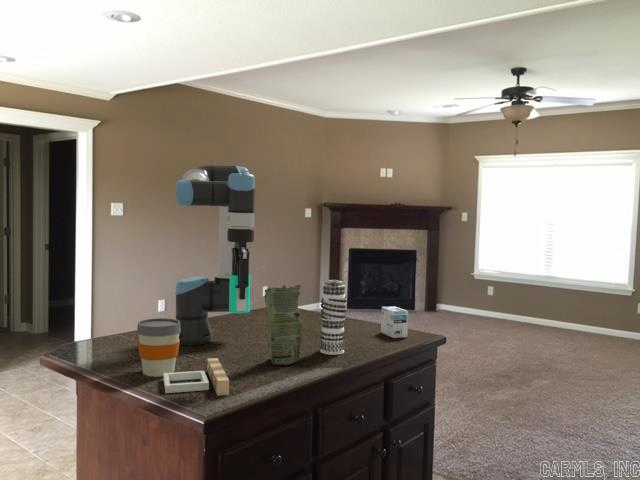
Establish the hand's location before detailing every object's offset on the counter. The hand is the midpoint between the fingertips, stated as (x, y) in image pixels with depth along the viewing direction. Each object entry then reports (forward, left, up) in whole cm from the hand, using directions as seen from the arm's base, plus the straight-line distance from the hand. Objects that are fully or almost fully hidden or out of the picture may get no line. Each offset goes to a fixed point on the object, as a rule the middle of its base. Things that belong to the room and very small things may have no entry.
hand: (239, 308), depth 160 cm
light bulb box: (-42, +70, -21) cm, 85 cm away
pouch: (-15, +17, -21) cm, 31 cm away
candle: (0, 0, -1) cm, 1 cm away
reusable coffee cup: (-12, -22, -21) cm, 32 cm away
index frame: (+2, -15, -21) cm, 26 cm away
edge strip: (+2, -6, -21) cm, 22 cm away
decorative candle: (-23, +37, -21) cm, 49 cm away
